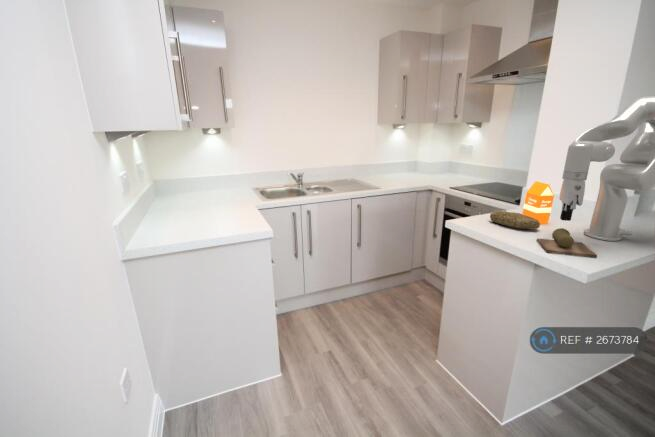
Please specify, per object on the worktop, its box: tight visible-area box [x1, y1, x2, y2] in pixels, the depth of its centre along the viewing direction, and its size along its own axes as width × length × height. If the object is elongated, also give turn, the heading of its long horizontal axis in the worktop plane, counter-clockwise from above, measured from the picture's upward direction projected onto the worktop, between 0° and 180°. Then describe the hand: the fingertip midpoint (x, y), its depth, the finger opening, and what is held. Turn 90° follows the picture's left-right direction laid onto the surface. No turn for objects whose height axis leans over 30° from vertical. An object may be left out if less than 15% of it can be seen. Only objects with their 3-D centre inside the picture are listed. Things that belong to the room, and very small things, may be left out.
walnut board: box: [536, 237, 598, 259], centre depth 122 cm, size 16×13×1 cm
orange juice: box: [522, 180, 555, 225], centre depth 153 cm, size 8×9×20 cm
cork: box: [551, 227, 575, 248], centre depth 123 cm, size 6×6×11 cm
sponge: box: [489, 210, 541, 230], centre depth 148 cm, size 13×8×20 cm
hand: (565, 219), depth 126 cm, fingers closed
